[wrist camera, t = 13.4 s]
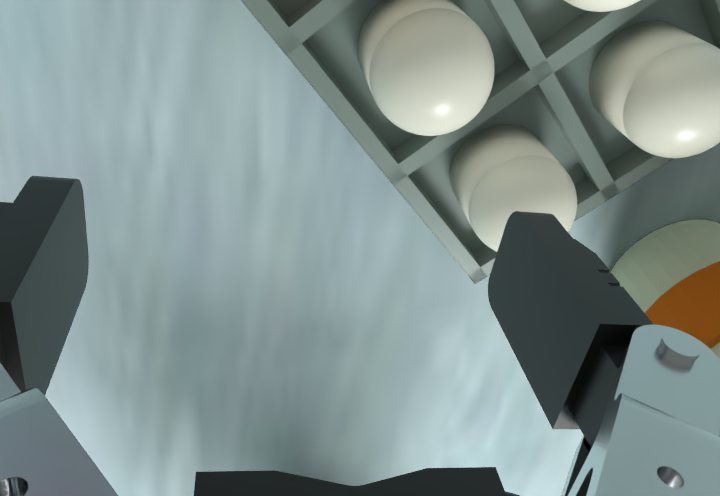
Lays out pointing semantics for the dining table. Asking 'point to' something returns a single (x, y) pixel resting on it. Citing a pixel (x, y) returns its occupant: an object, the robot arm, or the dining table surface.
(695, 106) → the egg carton
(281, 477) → the robot arm
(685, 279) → the reusable coffee cup
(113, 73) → the dining table surface
